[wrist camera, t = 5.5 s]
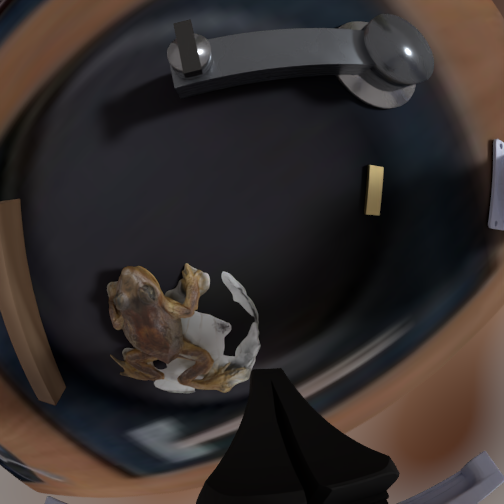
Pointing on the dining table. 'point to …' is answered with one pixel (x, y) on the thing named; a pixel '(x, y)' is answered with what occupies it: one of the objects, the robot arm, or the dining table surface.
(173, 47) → the crank
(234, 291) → the frog figurine
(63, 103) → the dining table surface
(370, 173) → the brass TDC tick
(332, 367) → the dining table surface
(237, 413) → the dining table surface
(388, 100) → the crank base plate
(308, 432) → the robot arm
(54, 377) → the brown wooden bar
